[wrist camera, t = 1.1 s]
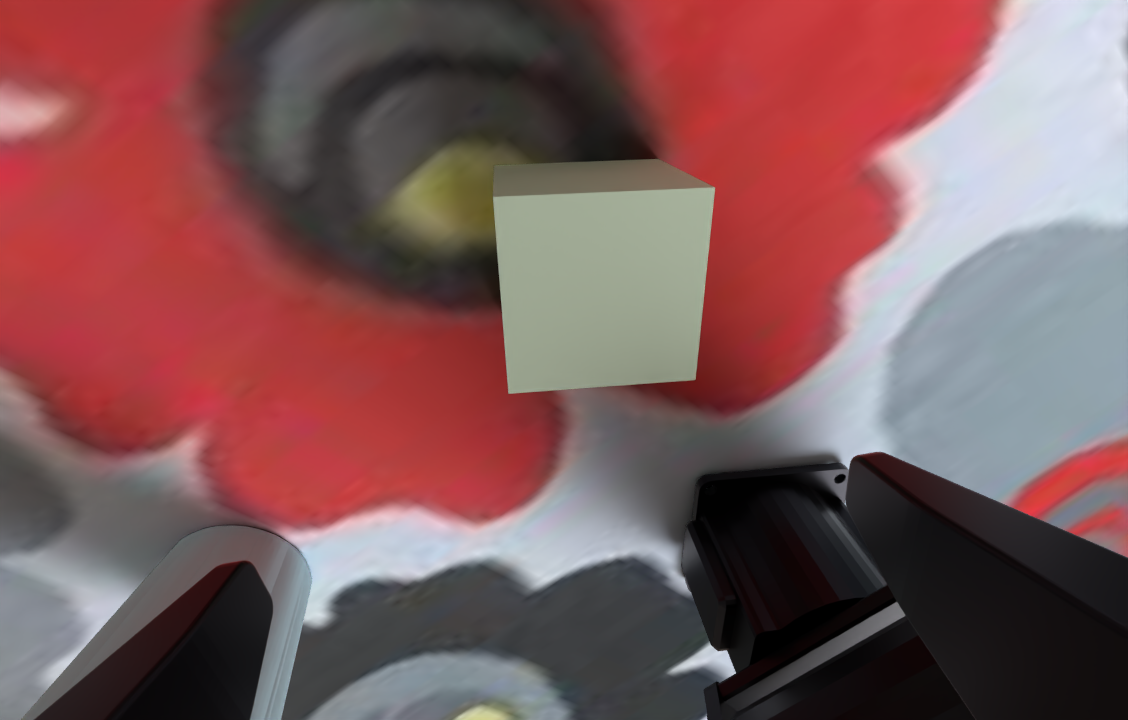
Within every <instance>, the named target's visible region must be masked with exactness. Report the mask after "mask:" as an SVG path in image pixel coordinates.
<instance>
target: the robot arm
mask: <svg viewBox="0 0 1128 720" xmlns="http://www.w3.org/2000/svg"><path fill="white" fill-rule="evenodd" d="M837 475H838V476H837ZM836 476H837V477H836ZM711 485H712V487H711V488H708V489H706V488H707V487H708V486H711ZM845 499H846V505H845V504H844V503H845ZM846 506H847V507H846ZM682 569H683V571H684V574H685V581H686V584H687V587H688V589H689V591H690V592H691V593H692V595H693V598H694V601H695V603H696V606H697V609H698V611H699V614H700V617H701V619H702V622H703V625H704V627H705V630H706V633H707V635H708V638H709V641H710V643H711V646H713V647H714V648H715V649H716V650H717V651H724V650H727V651H728V654H729V656H730V659H731V661H732V664H733V666H734V669H735V671H736V674H734V675H733V676H731V677H729V678H727V679H726V680H724V681H722V682H721V683H719V682H715V683H713V684H712V685H710V686H708V687H707V688H705V689H704V695H705V702H706V708H707V719H708V720H1128V558H1127V557H1125V556H1123V555H1120V554H1118V553H1116V552H1114V551H1111V550H1109V549H1107V548H1104V547H1102V546H1100V545H1097V544H1095V543H1093V542H1090V541H1088V540H1086V539H1083V538H1081V537H1079V536H1076V535H1074V534H1072V533H1069V532H1067V531H1065V530H1063V529H1060V528H1058V527H1056V526H1053V525H1051V524H1049V523H1046V522H1044V521H1042V520H1039V519H1037V518H1035V517H1032V516H1030V515H1028V514H1025V513H1023V512H1021V511H1018V510H1016V509H1014V508H1011V507H1009V506H1007V505H1005V504H1002V503H1000V502H998V501H995V500H993V499H991V498H988V497H986V496H984V495H981V494H979V493H977V492H974V491H972V490H970V489H967V488H965V487H963V486H960V485H958V484H956V483H954V482H951V481H949V480H947V479H944V478H942V477H940V476H937V475H935V474H933V473H930V472H928V471H926V470H923V469H921V468H919V467H916V466H914V465H912V464H909V463H907V462H905V461H902V460H900V459H898V458H896V457H893V456H891V455H889V454H886V453H883V452H873V453H868V454H862V455H857V456H855V457H854V458H853V459H852V460H851V463H850V468H849V470H848V469H847V467H846V466H845V465H843V464H841V463H833V464H821V465H810V466H798V467H787V468H776V469H764V470H753V471H742V472H730V473H719V474H708V475H704V476H703V477H701V478H700V479H699V480H698V481H697V483H696V488H695V497H694V506H693V514H692V521H689V522H688V524H687V525H686V530H685V539H684V548H683V558H682ZM272 617H273V601H272V597H271V595H270V593H269V591H268V589H267V587H266V586H265V584H264V582H263V580H262V578H261V577H260V575H259V573H258V571H257V569H256V567H255V566H254V564H253V563H251V562H250V561H246V560H242V561H236V562H230V563H224V564H221V565H218V566H216V567H215V568H214V569H212V570H211V571H210V572H209V573H208V574H206V575H205V576H204V577H203V578H202V579H200V580H199V581H198V582H197V583H196V584H195V585H193V586H192V587H191V588H190V589H189V590H187V591H186V592H185V593H184V594H183V595H181V596H180V597H179V598H178V599H177V600H176V601H174V602H173V603H172V604H171V605H170V606H168V607H167V608H166V609H165V610H164V611H162V612H161V613H160V614H159V615H158V616H156V617H155V618H154V619H153V620H152V621H150V622H149V623H148V624H147V625H146V626H145V627H143V628H142V629H141V630H140V631H139V632H137V633H136V634H135V635H134V636H133V637H131V638H130V639H129V640H128V641H127V642H125V643H124V644H123V645H122V646H121V647H120V648H118V649H117V650H116V651H115V652H114V653H112V654H111V655H110V656H109V657H108V658H106V659H105V660H104V661H103V662H102V663H100V664H99V665H98V666H97V667H96V668H95V669H93V670H92V671H91V672H90V673H89V674H87V675H86V676H85V677H84V678H83V679H81V680H80V681H79V682H78V683H77V684H75V685H74V686H73V687H72V688H71V689H70V690H68V691H67V692H66V693H65V694H64V695H62V696H61V697H60V698H59V699H58V700H56V701H55V702H54V703H53V704H52V705H50V706H49V707H48V708H47V709H46V710H44V711H43V712H42V713H41V714H40V715H39V716H37V717H36V718H35V719H34V720H250V718H251V714H252V710H253V706H254V701H255V697H256V692H257V687H258V682H259V678H260V673H261V668H262V664H263V659H264V654H265V650H266V645H267V640H268V635H269V631H270V626H271V621H272Z"/></svg>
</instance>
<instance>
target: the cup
mask: <svg viewBox="0 0 1128 720" xmlns="http://www.w3.org/2000/svg"><path fill="white" fill-rule="evenodd" d="M242 560H246V561H250V562H251V563H253V564H254V566H255V567H256V569H257V571H258V573H259V575H260V577H261V578H262V580H263V582H264V584H265V586H266V587H267V589H268V591H269V593H270V595H271V597H272V601H273V617H272V621H271V626H270V631H269V635H268V640H267V645H266V650H265V654H264V659H263V664H262V668H261V673H260V678H259V682H258V687H257V692H256V697H255V701H254V706H253V710H252V714H251V718H250V720H281V717H282V712H283V708H284V703H285V699H286V695H287V690H288V686H289V682H290V677H291V673H292V668H293V664H294V660H295V655H296V651H297V647H298V642H299V638H300V633H301V629H302V625H303V620H304V616H305V611H306V607H307V602H308V598H309V593H310V589H311V583H312V577H311V572H310V569H309V566H308V564H307V562H306V560H305V559H304V557H303V556H302V554H301V553H300V552H299V551H298V550H297V549H296V548H295V547H293V546H292V545H291V544H290V543H288V542H287V541H285V540H284V539H282V538H280V537H278V536H276V535H274V534H272V533H269V532H266V531H263V530H260V529H256V528H252V527H247V526H233V525H229V526H214V527H209V528H205V529H202V530H199V531H197V532H194V533H192V534H190V535H188V536H186V537H184V538H183V539H181V540H180V541H179V542H178V543H177V544H176V545H175V546H174V548H173V549H172V550H171V551H170V552H169V553H168V554H167V555H166V556H165V557H164V559H163V560H162V561H161V562H160V563H159V564H158V565H157V566H156V568H155V569H154V570H153V571H152V572H151V573H150V574H149V575H148V577H147V578H146V579H145V580H144V581H143V582H142V583H141V584H140V585H139V587H138V588H137V589H136V590H135V591H134V592H133V593H132V594H131V596H130V597H129V598H128V599H127V600H126V601H125V602H124V604H123V605H122V606H121V607H120V608H119V609H118V610H117V611H116V613H115V614H114V615H113V616H112V617H111V618H110V619H109V620H108V622H107V623H106V624H105V625H104V626H103V627H102V628H101V630H100V631H99V632H98V633H97V634H96V635H95V636H94V637H93V639H92V640H91V641H90V642H89V643H88V644H87V645H86V646H85V648H84V649H83V650H82V651H81V652H80V653H79V654H78V656H77V657H76V658H75V659H74V660H73V661H72V662H71V663H70V665H69V666H68V667H67V668H66V669H65V670H64V671H63V672H62V674H61V675H60V676H59V677H58V678H57V679H56V680H55V682H54V683H53V684H52V685H51V686H50V687H49V688H48V689H47V691H46V692H45V693H44V694H43V695H42V696H41V697H40V698H39V700H38V701H37V702H36V703H35V704H34V705H33V706H32V708H31V709H30V710H29V711H28V712H27V713H26V714H25V715H24V717H23V718H22V719H21V720H34V719H35V718H36V717H37V716H39V715H40V714H41V713H42V712H43V711H44V710H46V709H47V708H48V707H49V706H50V705H52V704H53V703H54V702H55V701H56V700H58V699H59V698H60V697H61V696H62V695H64V694H65V693H66V692H67V691H68V690H70V689H71V688H72V687H73V686H74V685H75V684H77V683H78V682H79V681H80V680H81V679H83V678H84V677H85V676H86V675H87V674H89V673H90V672H91V671H92V670H93V669H95V668H96V667H97V666H98V665H99V664H100V663H102V662H103V661H104V660H105V659H106V658H108V657H109V656H110V655H111V654H112V653H114V652H115V651H116V650H117V649H118V648H120V647H121V646H122V645H123V644H124V643H125V642H127V641H128V640H129V639H130V638H131V637H133V636H134V635H135V634H136V633H137V632H139V631H140V630H141V629H142V628H143V627H145V626H146V625H147V624H148V623H149V622H150V621H152V620H153V619H154V618H155V617H156V616H158V615H159V614H160V613H161V612H162V611H164V610H165V609H166V608H167V607H168V606H170V605H171V604H172V603H173V602H174V601H176V600H177V599H178V598H179V597H180V596H181V595H183V594H184V593H185V592H186V591H187V590H189V589H190V588H191V587H192V586H193V585H195V584H196V583H197V582H198V581H199V580H200V579H202V578H203V577H204V576H205V575H206V574H208V573H209V572H210V571H211V570H212V569H214V568H215V567H216V566H218V565H221V564H224V563H230V562H236V561H242Z"/></svg>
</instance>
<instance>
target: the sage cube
mask: <svg viewBox="0 0 1128 720" xmlns="http://www.w3.org/2000/svg"><path fill="white" fill-rule="evenodd" d="M714 193H715V187H713V186H711V185H709V184H707V183H705V182H703V181H701V180H699V179H697V178H695V177H693V176H691V175H689V174H687V173H685V172H683V171H681V170H680V169H678V168H676V167H674V166H672V165H670V164H668V163H666V162H664V161H662V160H660V159H644V160H617V161H590V162H564V163H537V164H510V165H494V179H493V204H494V217H495V230H496V242H497V255H498V268H499V280H500V293H501V306H502V319H503V331H504V344H505V357H506V369H507V382H508V394H512V393H526V392H540V391H553V390H567V389H580V388H594V387H608V386H621V385H635V384H648V383H662V382H676V381H689V380H696V370H697V360H698V350H699V341H700V331H701V321H702V311H703V301H704V291H705V282H706V272H707V262H708V252H709V242H710V233H711V223H712V213H713V203H714Z"/></svg>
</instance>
